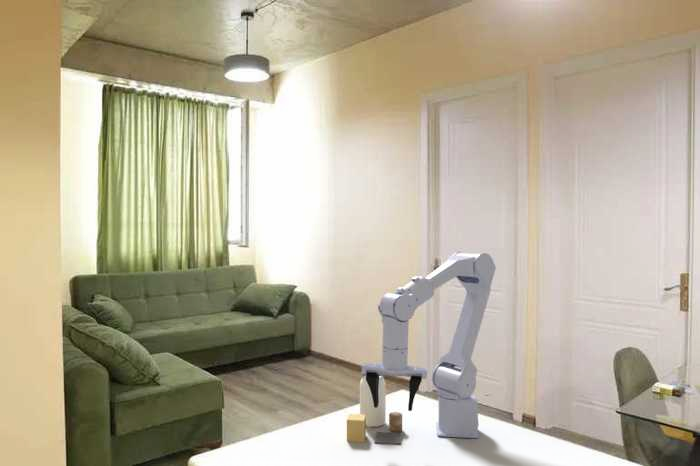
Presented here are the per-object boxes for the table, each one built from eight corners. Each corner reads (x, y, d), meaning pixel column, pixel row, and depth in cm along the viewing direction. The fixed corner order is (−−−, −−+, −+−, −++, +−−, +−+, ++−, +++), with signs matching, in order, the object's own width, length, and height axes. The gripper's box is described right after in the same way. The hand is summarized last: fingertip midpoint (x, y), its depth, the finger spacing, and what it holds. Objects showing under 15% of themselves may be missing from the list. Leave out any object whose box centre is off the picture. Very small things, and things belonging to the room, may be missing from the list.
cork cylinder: (402, 428, 131) (402, 412, 131) (401, 433, 128) (402, 417, 128) (389, 427, 132) (389, 411, 132) (388, 432, 129) (388, 416, 129)
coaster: (401, 434, 128) (401, 432, 128) (400, 444, 122) (400, 442, 122) (376, 433, 128) (376, 431, 128) (374, 443, 122) (374, 441, 122)
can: (386, 428, 132) (386, 379, 132) (359, 427, 132) (359, 379, 132) (384, 418, 138) (384, 372, 138) (359, 418, 138) (360, 372, 138)
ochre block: (365, 435, 127) (365, 414, 127) (363, 442, 123) (363, 420, 123) (349, 434, 128) (349, 413, 128) (346, 441, 124) (346, 419, 124)
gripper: (360, 348, 117) (357, 410, 117) (426, 353, 114) (424, 416, 114) (365, 342, 124) (363, 400, 124) (428, 346, 121) (426, 406, 121)
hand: (393, 407), depth 119 cm, fingers open, 7 cm apart
